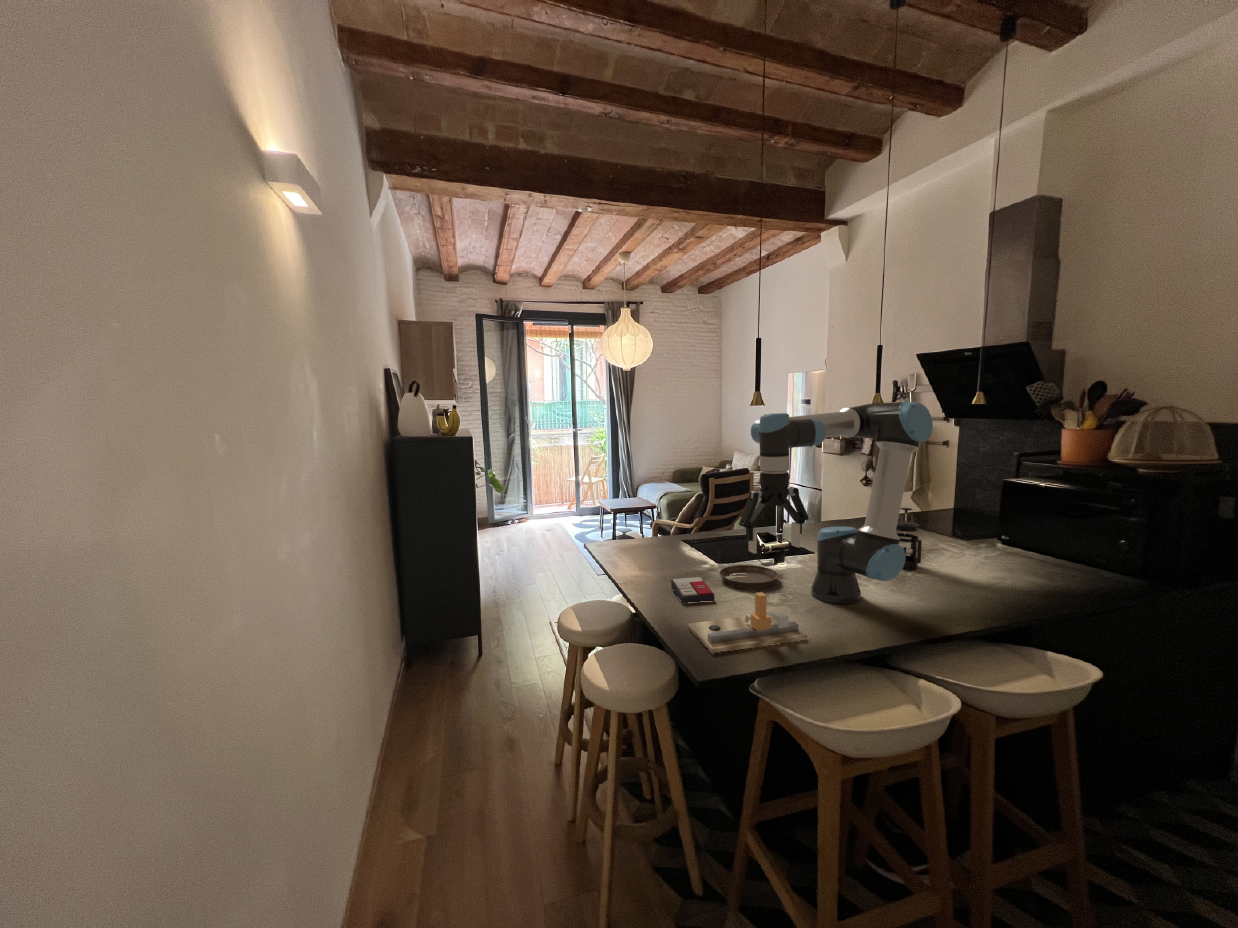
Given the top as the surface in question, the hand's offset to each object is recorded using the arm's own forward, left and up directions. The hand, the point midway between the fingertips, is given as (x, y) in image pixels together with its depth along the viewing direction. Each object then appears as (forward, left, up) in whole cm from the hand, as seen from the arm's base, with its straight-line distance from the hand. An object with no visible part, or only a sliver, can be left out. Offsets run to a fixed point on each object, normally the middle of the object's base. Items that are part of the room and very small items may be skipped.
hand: (774, 549), depth 136 cm
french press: (-80, -38, -25) cm, 92 cm away
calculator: (+10, -35, -25) cm, 45 cm away
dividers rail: (+7, -2, -23) cm, 24 cm away
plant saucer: (-15, -42, -25) cm, 51 cm away
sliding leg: (+5, -2, -22) cm, 23 cm away
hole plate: (+7, -3, -25) cm, 26 cm away
